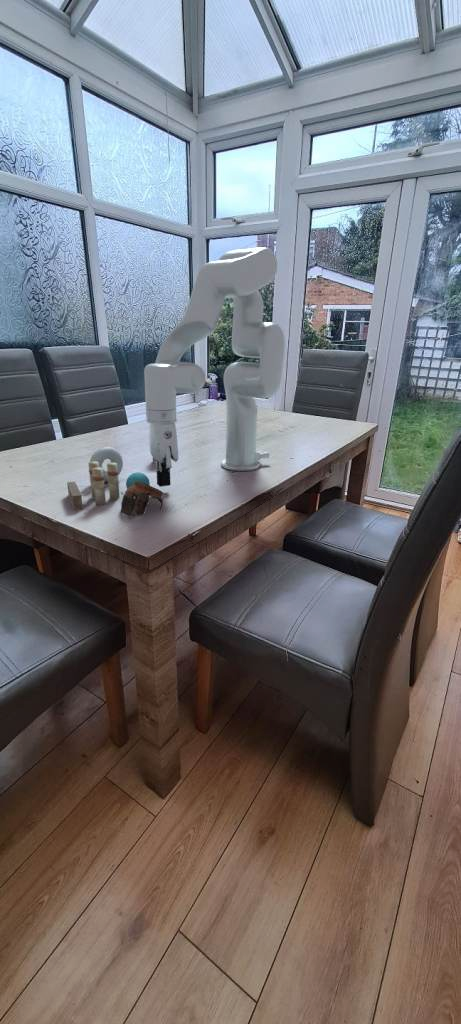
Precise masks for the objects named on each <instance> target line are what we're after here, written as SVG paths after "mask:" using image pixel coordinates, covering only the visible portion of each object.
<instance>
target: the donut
mask: <svg viewBox="0 0 461 1024" xmlns="http://www.w3.org/2000/svg"><path fill="white" fill-rule="evenodd" d="M105 460H109V461H110V463H117V470H118V476H119V475H120V474H121V473H122V470H123V464H124V461H123V457H122V455H121V453H120V452H119V450H117V449H116V448H114V447H112V446H103V447H100V448H98V449H97V450H96V451H94V453H93V454H92V455H91V457H90V460H89V462H93V461H96V462H98V463H99V467H100V468H103V463H104V462H105ZM103 476H104V483H107V482H108V473H107V469H103ZM108 483H109V482H108Z"/></svg>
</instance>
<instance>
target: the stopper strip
mask: <svg viewBox="0 0 461 1024" xmlns="http://www.w3.org/2000/svg"><path fill="white" fill-rule="evenodd" d="M66 486H67V491H68V492H67V493H68V497H69V500H70V502H71V504H72V505H71V506H72V507H73V510H74V511H77V510H83V509H84V506H83V498H82V493H81V492H80V489H79V487H78V484H77V483H76V481H67V483H66Z"/></svg>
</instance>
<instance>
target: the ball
mask: <svg viewBox="0 0 461 1024" xmlns="http://www.w3.org/2000/svg"><path fill="white" fill-rule="evenodd" d="M135 481H140V482H142V483H145V484H147V485H149V486H151V484H150V483H151V482H150V480H149V477H148V476H147V475H146V474H144V473H143V472H139V471H138V472H133V473H131V474H130V475H128V476H127V478H126V480H125V486H126V490H127V489H128V488H129V487H131V486H132V485H134V484H135Z"/></svg>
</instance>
